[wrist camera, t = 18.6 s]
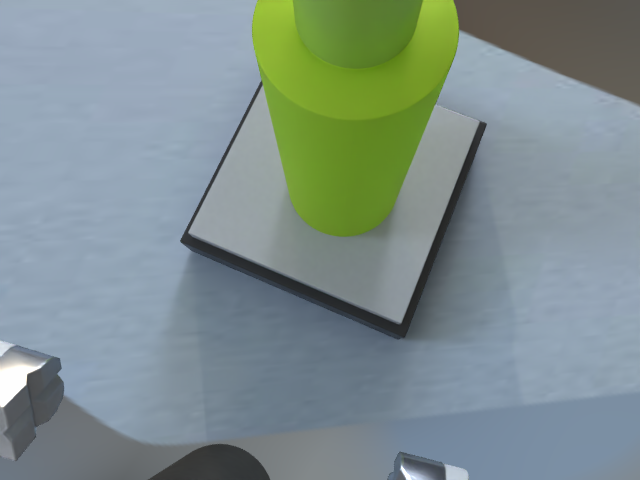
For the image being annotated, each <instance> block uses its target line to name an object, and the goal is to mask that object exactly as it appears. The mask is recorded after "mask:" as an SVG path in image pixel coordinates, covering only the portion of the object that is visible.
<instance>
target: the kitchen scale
mask: <svg viewBox="0 0 640 480" xmlns="http://www.w3.org/2000/svg"><path fill="white" fill-rule="evenodd" d="M486 125H487V124H486V123H484V122H481V121H479V120H476V119H473V118H471V117H468V116H465V115H463V114H460V113H457V112H454V111H452V110H449V109H446V108H444V107H441V106H438V105H436V104H435V106H434V109H433V111H432V114H431V116H430V119H429V121H428V124H427V126H426V128H425V131H424V133H423V136H422V138H421V141H420V143H419V146H418V148H417V150H416V153H415V155H414V158H413V160H412V163H411V165H410V168H409V170H408V173H407V175H406V177H405V180H404V182H403V185H402V187H401V190H400V192H399V195H398V197H397V200H396V202H395V204H394V207H393V208H392V210H391V212H390V213H389V215H388V216H387V217H386V218H385V219H384V220H383V221H382V222H381V223H380V224H379V225H378V226H376V227H375V228H373V229H372V230H370V231H368V232H365V233H363V234H359V235H355V236H348V237H339V236H332V235H328V234H325V233H322V232H320V231H318V230H316V229H314V228H312V227H311V226H309V225H308V224H307V223H306V222H305V221H304V220H303V219H302V218H301V217H300V216H299V215H298V213H297V212H296V210H295V208H294V206H293V204H292V202H291V199H290V195H289V191H288V187H287V183H286V179H285V174H284V170H283V166H282V162H281V158H280V154H279V150H278V145H277V141H276V137H275V133H274V129H273V125H272V120H271V116H270V112H269V108H268V104H267V100H266V96H265V91H264V87H263V83H262V81H261V82H260V84H259V86H258V88H257V90H256V92H255V94H254V96H253V98H252V100H251V102H250V104H249V106H248V108H247V110H246V112H245V114H244V116H243V118H242V120H241V122H240V124H239V126H238V128H237V130H236V132H235V134H234V136H233V138H232V140H231V142H230V144H229V146H228V148H227V150H226V152H225V153H224V155H223V157H222V159H221V161H220V163H219V165H218V167H217V169H216V171H215V173H214V175H213V177H212V179H211V181H210V183H209V185H208V187H207V189H206V191H205V193H204V195H203V197H202V199H201V201H200V203H199V205H198V207H197V209H196V211H195V213H194V215H193V217H192V219H191V221H190V222H189V224H188V226H187V228H186V230H185V232H184V234H183V236H182V238H181V240H180V242H181V243H183V244H184V245H185V246H186V247H188V248H189V249H190V250H191V251H194V252H196V253H198V254H201V255H203V256H205V257H207V258H210V259H212V260H214V261H217V262H219V263H221V264H224V265H226V266H228V267H231V268H233V269H235V270H238V271H240V272H242V273H245V274H247V275H249V276H252V277H254V278H256V279H259V280H261V281H263V282H266V283H268V284H270V285H273V286H275V287H277V288H280V289H282V290H284V291H287V292H289V293H291V294H294V295H296V296H298V297H301V298H303V299H305V300H308V301H310V302H312V303H315V304H317V305H319V306H322V307H324V308H326V309H329V310H331V311H333V312H336V313H338V314H340V315H343V316H345V317H347V318H350V319H352V320H354V321H357V322H359V323H361V324H364V325H366V326H368V327H371V328H373V329H375V330H378V331H380V332H382V333H385V334H387V335H389V336H392V337H394V338H396V339H401V338H404V337H405V336H406V333H407V331H408V328H409V325H410V323H411V320H412V318H413V315H414V312H415V310H416V307H417V305H418V302H419V299H420V297H421V294H422V292H423V289H424V286H425V284H426V281H427V279H428V276H429V273H430V271H431V268H432V266H433V263H434V260H435V258H436V255H437V253H438V250H439V247H440V245H441V242H442V240H443V237H444V234H445V232H446V229H447V227H448V224H449V222H450V219H451V216H452V214H453V211H454V209H455V206H456V203H457V201H458V198H459V196H460V193H461V190H462V188H463V185H464V183H465V180H466V177H467V175H468V172H469V170H470V167H471V164H472V162H473V159H474V157H475V154H476V151H477V149H478V146H479V144H480V141H481V138H482V136H483V133H484V131H485V128H486Z"/></svg>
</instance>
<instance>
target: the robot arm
mask: <svg viewBox="0 0 640 480" xmlns="http://www.w3.org/2000/svg"><path fill="white" fill-rule="evenodd" d="M61 369H62V368H61V363H60V358H57V357H54V356H50V355H47V354H44V353H41V352H37V351H34V350H31V349H27V348H24V347H21V346H18V345H14V344H11V343H7V342H4V341H0V457H2V458H6V459H9V460H13V461H17V460H18V458H19V457H20V456H21V455H22V454H23V452H24V451H25V450H26V449H27V447H28V446H29V445H30V443H31V442H32V441H33V440H34V439H35V437H36V427H37V426H39V425H41V424H44V423H46V422H48V421H49V420H50V419H51V417H52V416H53V415H54V414H55V412H56V411H57V409H58V407H59V405H60V403H61V401H62V399H63V393H64V383H63V381H62V380H61V378H60V377H59V376H58V375H57V373H58V372H59V371H60V370H61ZM387 480H469V476H468V473H467V471H466V470H465V469H462V468H458V467H454V466H450V465H447V464H443V463H442V462H438V461H434V460H430V459H427V458H423V457H419V456H415V455H411V454H407V453H403V452H399V453H398V454H397V457H396V459H395V463H394V471H393V472H392V473H390V474H389V476H388V479H387Z"/></svg>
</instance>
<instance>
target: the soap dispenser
mask: <svg viewBox="0 0 640 480" xmlns="http://www.w3.org/2000/svg"><path fill="white" fill-rule="evenodd" d="M252 38H253V45H254V50H255V54H256V58H257V62H258V67H259V71H260V75H261V79H262V83H263V87H264V91H265V96H266V100H267V104H268V108H269V112H270V116H271V120H272V125H273V129H274V133H275V137H276V141H277V145H278V150H279V154H280V158H281V162H282V166H283V170H284V174H285V179H286V183H287V187H288V191H289V195H290V199H291V202H292V204H293V206H294V208H295V210H296V212H297V213H298V215H299V216H300V217H301V218H302V219H303V220H304V221H305V222H306V223H307V224H308V225H309V226H311V227H312V228H314V229H316V230H318V231H320V232H322V233H325V234H328V235H332V236H339V237H348V236H355V235H359V234H363V233H365V232H368V231H370V230H372V229H373V228H375V227H376V226H378V225H379V224H380V223H381V222H382V221H383V220H384V219H385V218H386V217H387V216H388V215H389V213H390V212H391V210H392V208H393V207H394V204H395V202H396V200H397V197H398V195H399V192H400V190H401V187H402V185H403V182H404V180H405V177H406V175H407V173H408V170H409V168H410V165H411V163H412V160H413V158H414V155H415V153H416V150H417V148H418V146H419V143H420V141H421V138H422V136H423V133H424V131H425V128H426V126H427V124H428V121H429V119H430V116H431V114H432V111H433V109H434V106H435V104H436V101H437V99H438V97H439V94H440V92H441V89H442V87H443V84H444V82H445V79H446V77H447V74H448V72H449V70H450V67H451V65H452V62H453V60H454V57H455V54H456V50H457V46H458V39H459V22H458V15H457V11H456V7H455V4H454V1H453V0H258V1H257V4H256V7H255V11H254V15H253V23H252Z"/></svg>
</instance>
